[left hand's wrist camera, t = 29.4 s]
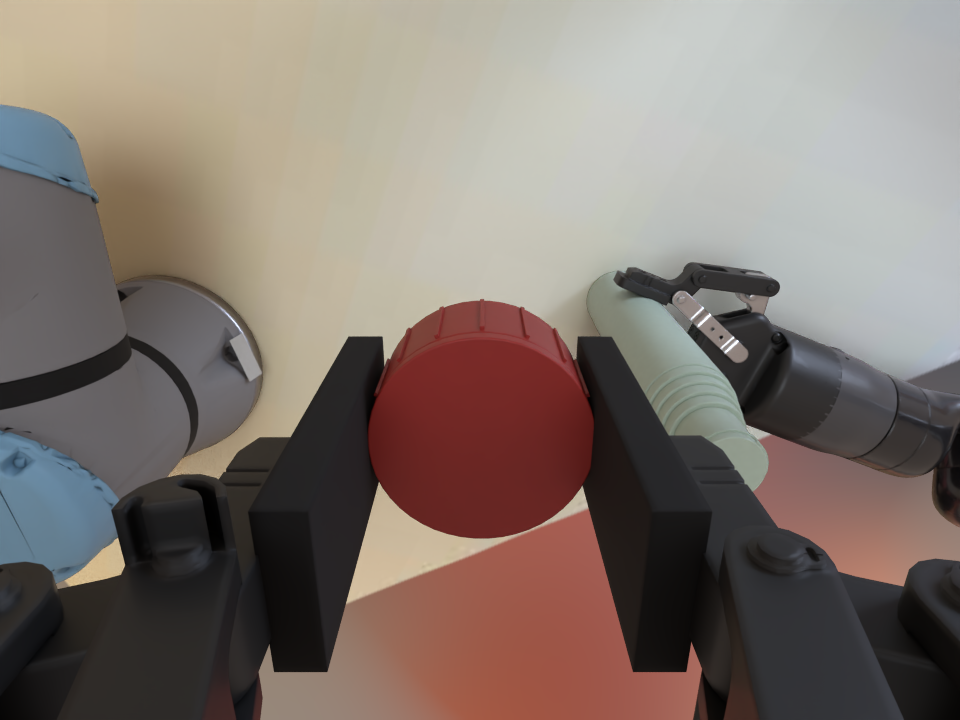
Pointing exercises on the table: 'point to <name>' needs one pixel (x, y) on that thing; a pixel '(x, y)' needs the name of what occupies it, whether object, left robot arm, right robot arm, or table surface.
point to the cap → (481, 421)
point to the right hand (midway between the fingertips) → (600, 313)
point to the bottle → (676, 375)
